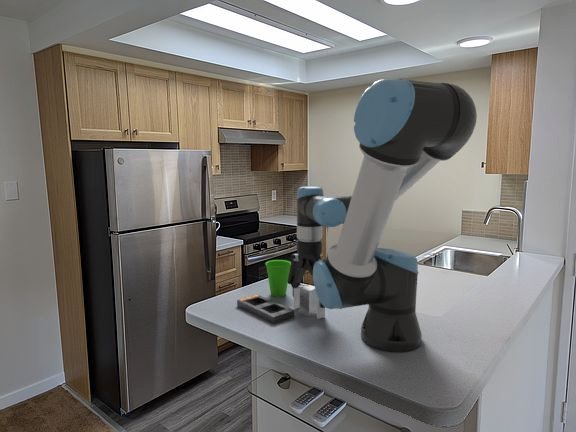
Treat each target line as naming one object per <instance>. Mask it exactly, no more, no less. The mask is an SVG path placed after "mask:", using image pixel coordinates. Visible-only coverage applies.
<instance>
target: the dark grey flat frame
mask: <svg viewBox="0 0 576 432" xmlns="http://www.w3.org/2000/svg"><path fill="white" fill-rule="evenodd" d="M236 306H237V307H238V308H240V309H242V310H245V312H248V313H250V314H253V315H254V316H257V317H259V318H260V319H263V320H265V321H266V322H269V323H271V324H273V325H274V324H278V323H279V322H283V321H286V320H289V319H292V318H294V317H295V309H293V308H290V307H288V306H286V305H283V304H281V303H278V302H276V301H274V300H272V299H269V298H267V297H264V296H262V295H259V294H253V295H250V296H248V297H243V298H240V299H237V300H236ZM273 311H275V312H273ZM271 312H272V313H271Z"/></svg>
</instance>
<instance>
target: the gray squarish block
mask: <svg viewBox="0 0 576 432" xmlns="http://www.w3.org/2000/svg"><path fill="white" fill-rule="evenodd" d="M299 287H300V308H299V314H300V313H301V315H303V316H305V317H307V316H308V318H310V317H313V316H317V297H318V296H317V293H316V290H315V286H314V285H311V284H307V285H304V286H299Z"/></svg>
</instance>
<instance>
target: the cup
mask: <svg viewBox="0 0 576 432" xmlns="http://www.w3.org/2000/svg"><path fill="white" fill-rule="evenodd" d="M264 265H265V267H266V271H267V278H268V284H269V290H270V294H271V296H272V297H275V296H276V298H279V297H284V296H286V294H287V289H288V285H289V284H288V277H289V271H290V266H291V261H290V260H287V259H286V260H284V259H272V260H268V261H266V262H265V263H264Z"/></svg>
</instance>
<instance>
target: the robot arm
mask: <svg viewBox="0 0 576 432" xmlns="http://www.w3.org/2000/svg"><path fill="white" fill-rule="evenodd" d="M353 117H354V118H353V122H354V125H353V132H354V135H355V138H356V140H357V141H358V142H359V145H358V147H359V150H360V151H361V153H362V155H363V158H362V162H361V165H360V168H359V172H358V174H357V179H356V181H355V185H354V188H353V190H352V191H353V192H352V195H345V196H344V195H342V196H340V195H338V196H337V195H336V196H325V195H324V189H323V188H322V187H320V186H301V187H298V188H297V193H296V194H297V195H296V239H297V240H296V252H297V253H293V254H291V255H290V262H291V266H290V271H289V277H288V284H287V285H291V288H292V297H293V308H292V309H293V310H296V309H300V287H301V286H302V280H303V279H304V277H305V274H306V272H309V273H310V275H311V276H312V280H313V286H314V287H315V290H316V293H317V296H318V297H317V314H316V319H317V320H320V319H322V318H325V316H326V309H329V310H342V309H346V308H353V307H360V306H367V305H368V308H367V311H366V313H365V317H364V319H363V322H362V325H361V327H360V338H361V340H362V341H363V342H364V343H366V344H367V345H369V346H371V347H372V348H375V349H378V350H381V351H386V352H391V353H392V352H393V353H394V352H395V353H396V352H397V353H403V352H411V351H414V350H416V349H419V347H420V346H421V344H422V338H423V336H422V331H421V327H420V322H419V319H418V316H417V313H416V312H417V311H416V309H417V306H416V305H417V292H418V291H417V288H418V276H419V271H418V270H419V269H418V268H419V267H418V264H419V263H418V259H417V257H416V256H415V255H414V254H412V253H410V252H406V251H402V250H398V249H392V248H386V247H385V248H384V247H378V246H379V244H380V241H381V239H382V237H383V233H384V231H385V228H386V226H387V222H388V220H389V218H390V215H391V212H392V210H393V208H394V204H395V202H396V201H397V200H398V199H400V198H401V196H403V195H404V194H405V193H406V192H408V190H409V189H411V188H412V187H413V186H414V185H415V184H416V183H417V182H419V181H420V180H421V179H422V178H423V177H424V176H425V175H427V173H429V171H431V170H432V169H433V168H434V167H435V166H436V165H437V164H439V163H440V162H444V161H445V162H446V161H448V160H450V159H451V158H452V157H454V156H455V155H456V154H457V153H458V152H460V150H461V149H463V148H464V146H465V145H466V144H468V142H469V140H470V138H471V137H472V135H473V133H474V131H475V127H476V124H477V117H478V116H477V107H476V104H475V102H474V100H473V98H472V96H470V94H469V93H468V92H467V91H466V90H465V89H464V88H462V87H460V86H458V85H455V84H453V83H449V82H431V81H423V80H413V79H406V78H396V79H395V78H394V79H390V78H389V79H388V78H385V79H379V80H377V81H374V83H373V84H371V85H369V86H368V87H367V88H366V89H365V91H364V92H363V93H362V95H361V96H360V98H359V100H358V103H357V106H356V109H355V112H354V116H353ZM340 225H342V228H341V231H340V234H339V238H338V240H337V243H336V244H334V245H332V246H331V247H329V249H328V252H327V254H326V255H327V256H326V259H324V260H323V259H322V257H321V255H322V253H323V240H322V238H323V228H324V227H325V228H328V227H329V228H336V227H338V226H340Z"/></svg>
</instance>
